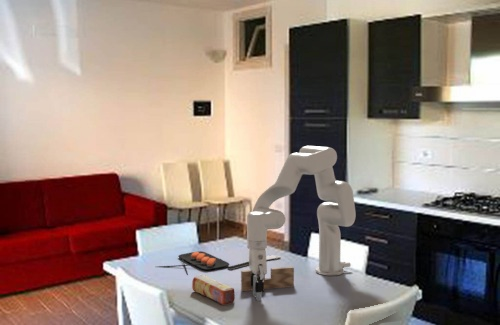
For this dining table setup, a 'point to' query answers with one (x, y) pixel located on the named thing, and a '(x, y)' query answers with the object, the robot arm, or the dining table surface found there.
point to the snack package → (213, 289)
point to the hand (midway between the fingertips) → (257, 288)
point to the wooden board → (277, 280)
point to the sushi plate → (201, 261)
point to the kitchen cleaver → (248, 263)
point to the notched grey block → (257, 294)
